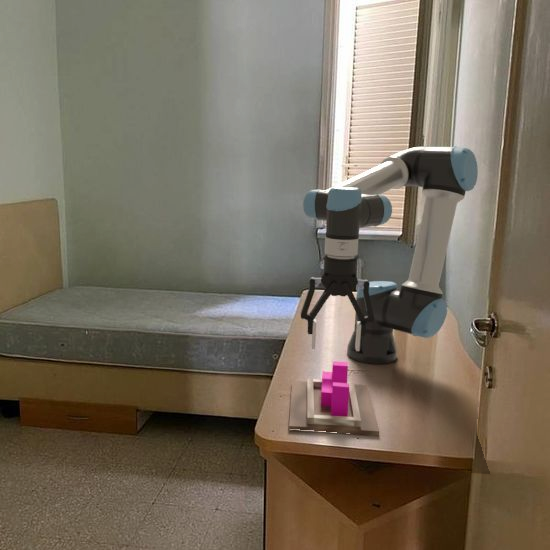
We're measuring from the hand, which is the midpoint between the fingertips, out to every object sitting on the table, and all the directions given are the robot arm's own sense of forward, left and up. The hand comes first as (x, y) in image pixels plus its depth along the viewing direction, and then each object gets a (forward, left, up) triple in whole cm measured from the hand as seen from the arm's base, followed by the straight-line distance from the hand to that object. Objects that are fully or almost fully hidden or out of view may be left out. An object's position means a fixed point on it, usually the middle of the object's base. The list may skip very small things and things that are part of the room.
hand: (335, 347), depth 127 cm
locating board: (0, 0, -16) cm, 16 cm away
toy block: (0, -1, -15) cm, 15 cm away
